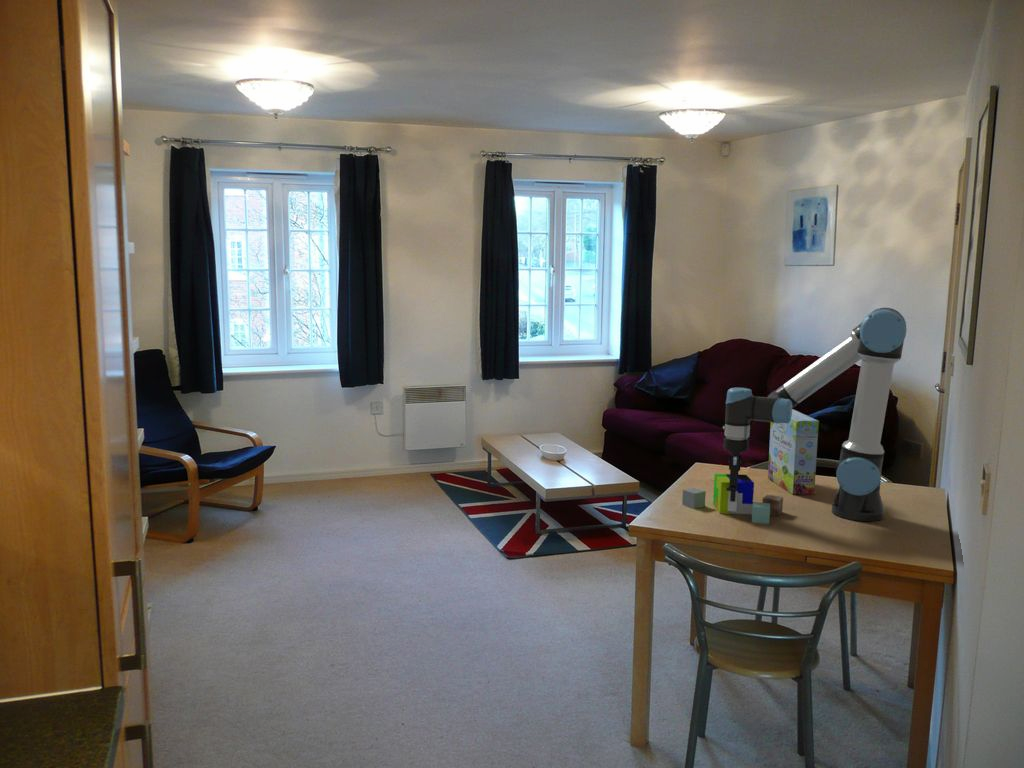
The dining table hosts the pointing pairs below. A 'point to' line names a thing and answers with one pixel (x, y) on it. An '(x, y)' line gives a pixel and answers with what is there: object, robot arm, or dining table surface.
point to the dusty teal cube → (760, 512)
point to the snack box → (794, 454)
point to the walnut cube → (774, 504)
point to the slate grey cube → (693, 498)
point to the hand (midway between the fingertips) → (732, 505)
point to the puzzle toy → (742, 498)
